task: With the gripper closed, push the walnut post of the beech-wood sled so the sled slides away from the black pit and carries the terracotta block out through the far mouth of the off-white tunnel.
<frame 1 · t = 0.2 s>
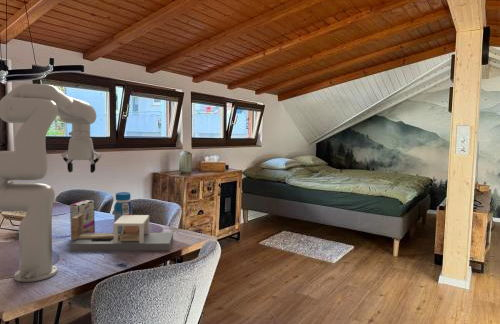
hand: (81, 172, 160), 30 cm above the table, tool pointing down, fingers open, 9 cm apart
beverage bottle: (122, 233, 169), on the table
candy bar box: (82, 237, 162), on the table
sled: (108, 226, 152), point 8 cm above the table, slide at 0.0 cm, touching terracotta block
terracotta block: (132, 235, 153), point 4 cm above the table, touching sled
track board: (125, 244, 153), on the table
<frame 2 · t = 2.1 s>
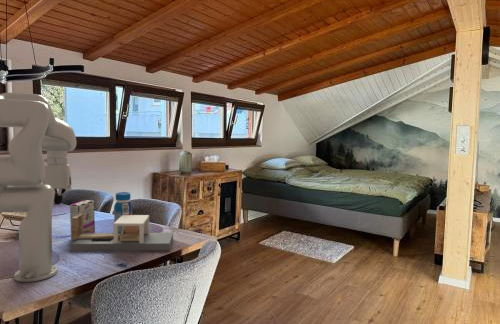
hand: (58, 203, 149), 18 cm above the table, tool pointing down, fingers closed
nothing on the table moved.
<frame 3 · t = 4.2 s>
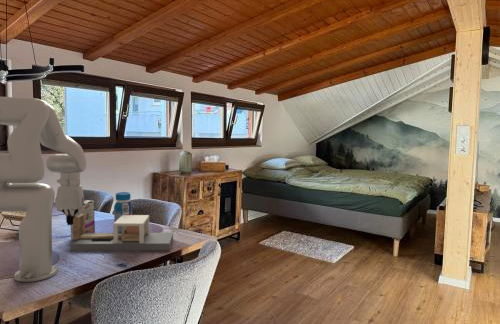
hand: (70, 224, 150), 9 cm above the table, tool pointing down, fingers closed
sled: (110, 226, 152), point 8 cm above the table, slide at 0.7 cm, touching gripper, terracotta block
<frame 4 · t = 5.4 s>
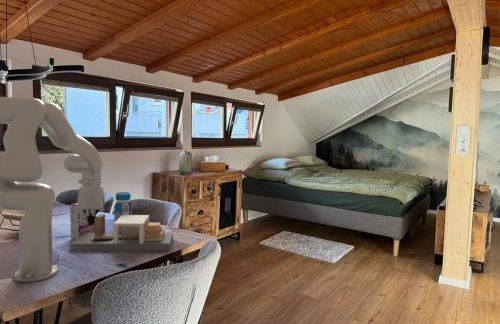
hand: (91, 224, 151), 9 cm above the table, tool pointing down, fingers closed
sled: (130, 226, 153), point 8 cm above the table, slide at 9.4 cm, touching gripper, terracotta block
terracotta block: (153, 235, 154), point 4 cm above the table, touching sled
everything else where it was.
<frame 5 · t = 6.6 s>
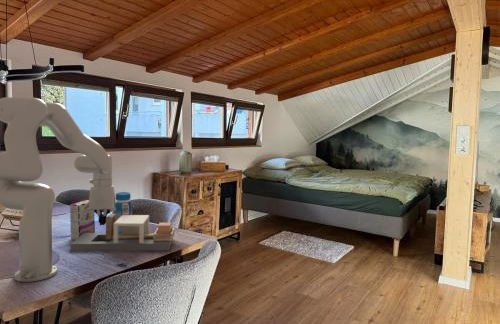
hand: (102, 224, 151), 9 cm above the table, tool pointing down, fingers closed
sled: (141, 226, 153), point 8 cm above the table, slide at 14.0 cm, touching gripper, terracotta block
terracotta block: (164, 234, 155), point 4 cm above the table, touching sled
everything else where it was.
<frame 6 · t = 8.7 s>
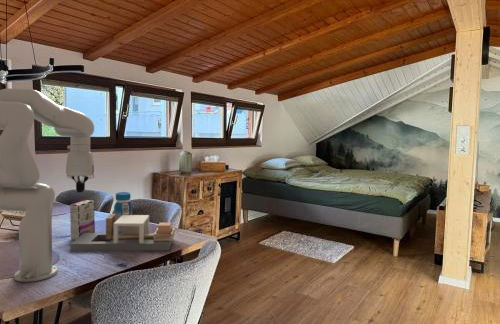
hand: (80, 191, 148), 24 cm above the table, tool pointing down, fingers closed
sled: (141, 226, 153), point 8 cm above the table, slide at 14.0 cm, touching terracotta block
everything else where it was.
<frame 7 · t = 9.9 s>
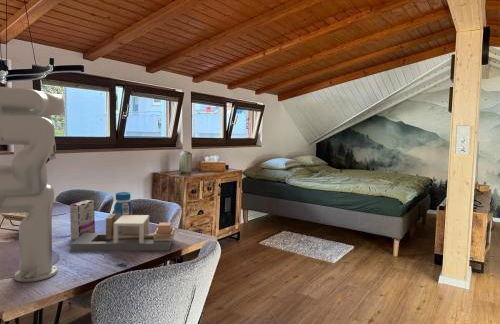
hand: (41, 173, 137), 32 cm above the table, tool pointing down, fingers closed
nothing on the table moved.
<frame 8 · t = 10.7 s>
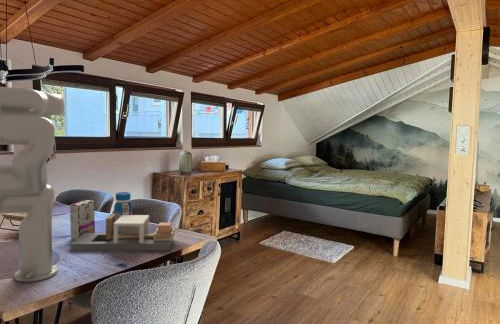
hand: (41, 173, 137), 32 cm above the table, tool pointing down, fingers closed
nothing on the table moved.
at the end: sled slide at 14.0 cm; terracotta block inside the target area (0.5 cm from its centre), point 4.3 cm above the table; terracotta block tilted 0° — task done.
